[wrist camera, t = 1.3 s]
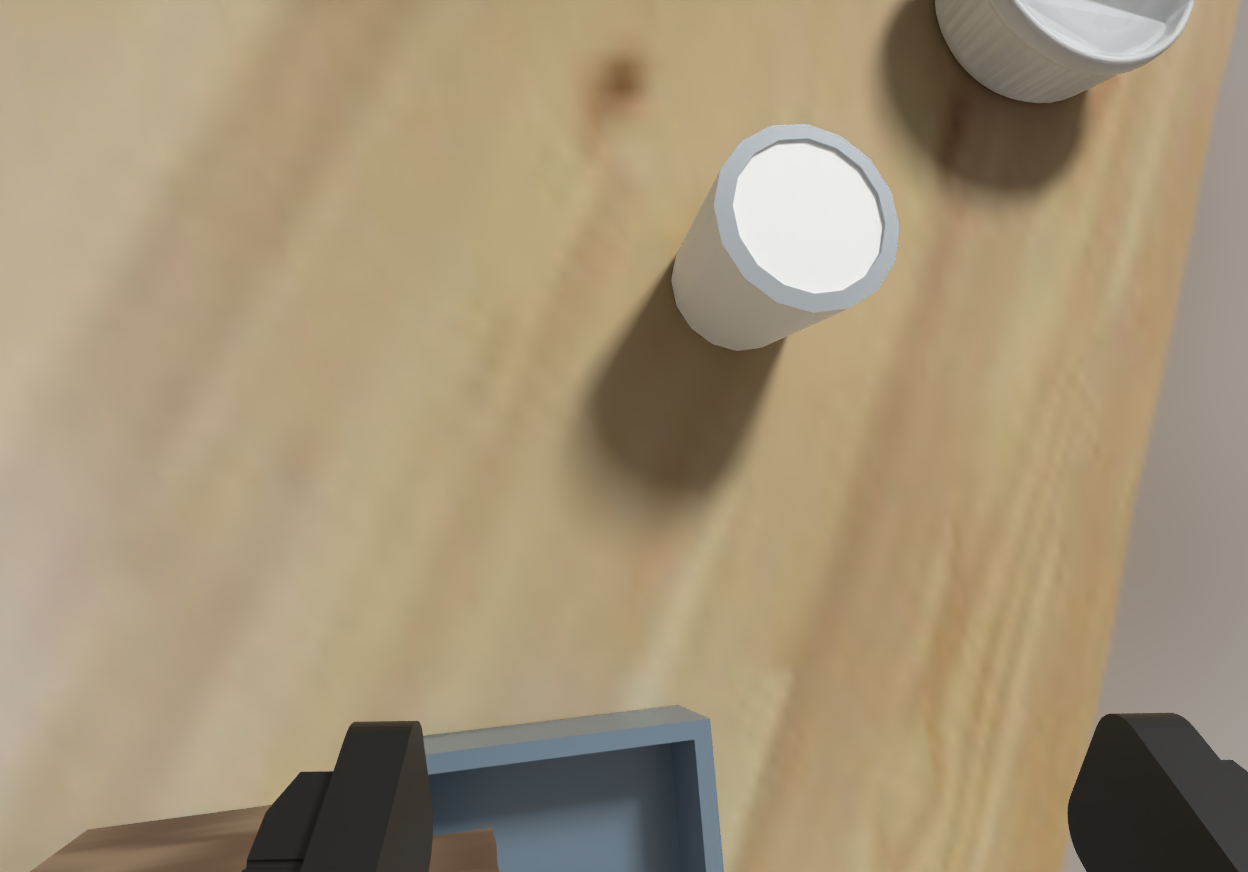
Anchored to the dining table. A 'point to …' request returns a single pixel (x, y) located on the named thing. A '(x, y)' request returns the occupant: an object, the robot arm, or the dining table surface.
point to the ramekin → (1057, 41)
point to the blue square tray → (584, 792)
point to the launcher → (226, 846)
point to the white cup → (784, 238)
